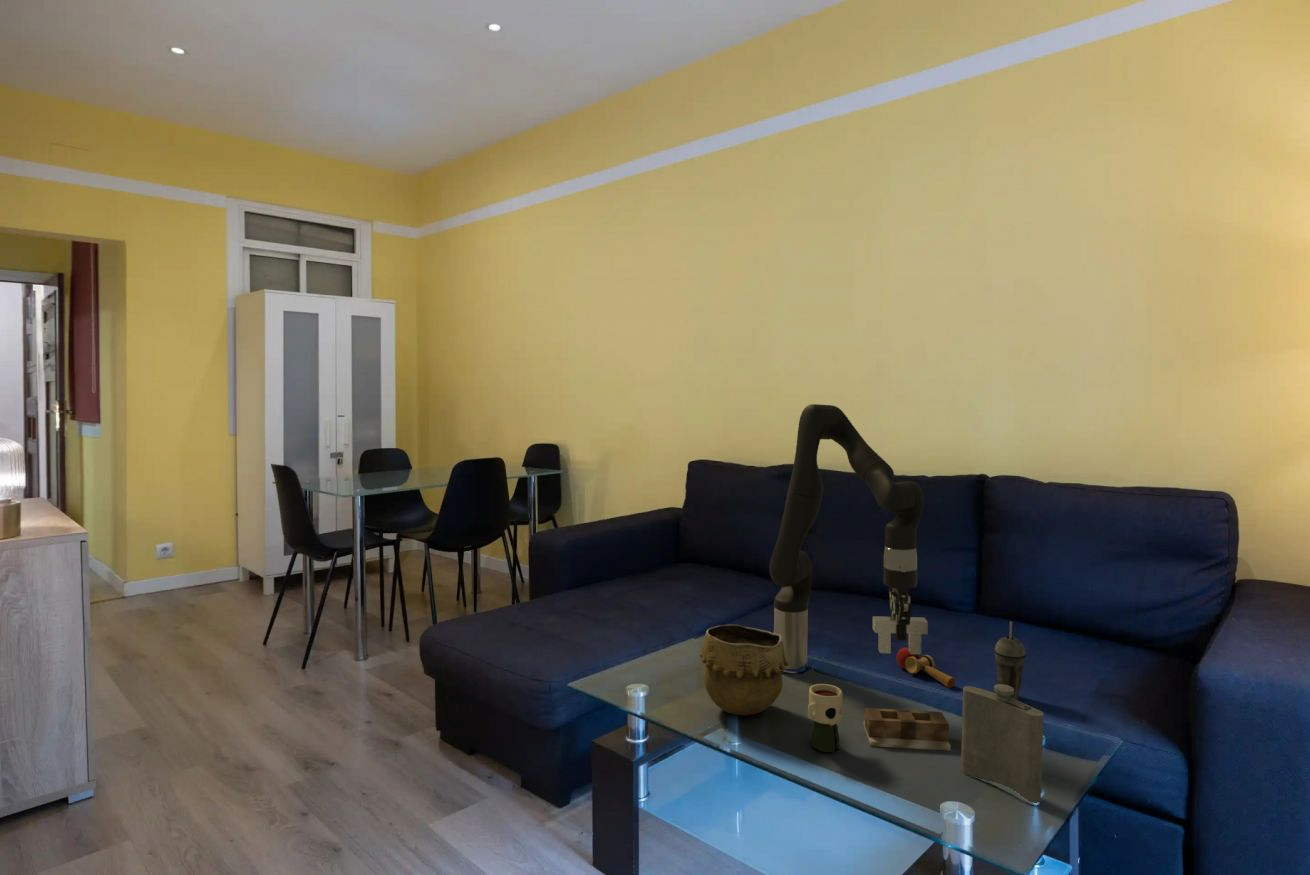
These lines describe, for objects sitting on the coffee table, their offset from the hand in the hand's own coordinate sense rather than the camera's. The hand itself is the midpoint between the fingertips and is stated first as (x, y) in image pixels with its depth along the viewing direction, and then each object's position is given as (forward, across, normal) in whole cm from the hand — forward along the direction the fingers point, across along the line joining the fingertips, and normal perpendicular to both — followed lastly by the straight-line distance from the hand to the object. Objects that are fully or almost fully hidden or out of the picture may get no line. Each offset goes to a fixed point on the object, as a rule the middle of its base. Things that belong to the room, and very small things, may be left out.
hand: (899, 636), depth 173 cm
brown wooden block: (+20, +10, -1) cm, 22 cm away
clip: (+4, 0, 0) cm, 4 cm away
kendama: (+20, -26, +12) cm, 35 cm away
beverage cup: (+20, -14, +30) cm, 39 cm away
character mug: (+20, +17, -19) cm, 32 cm away
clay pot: (+19, +1, -37) cm, 42 cm away
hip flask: (+20, +28, +14) cm, 37 cm away
